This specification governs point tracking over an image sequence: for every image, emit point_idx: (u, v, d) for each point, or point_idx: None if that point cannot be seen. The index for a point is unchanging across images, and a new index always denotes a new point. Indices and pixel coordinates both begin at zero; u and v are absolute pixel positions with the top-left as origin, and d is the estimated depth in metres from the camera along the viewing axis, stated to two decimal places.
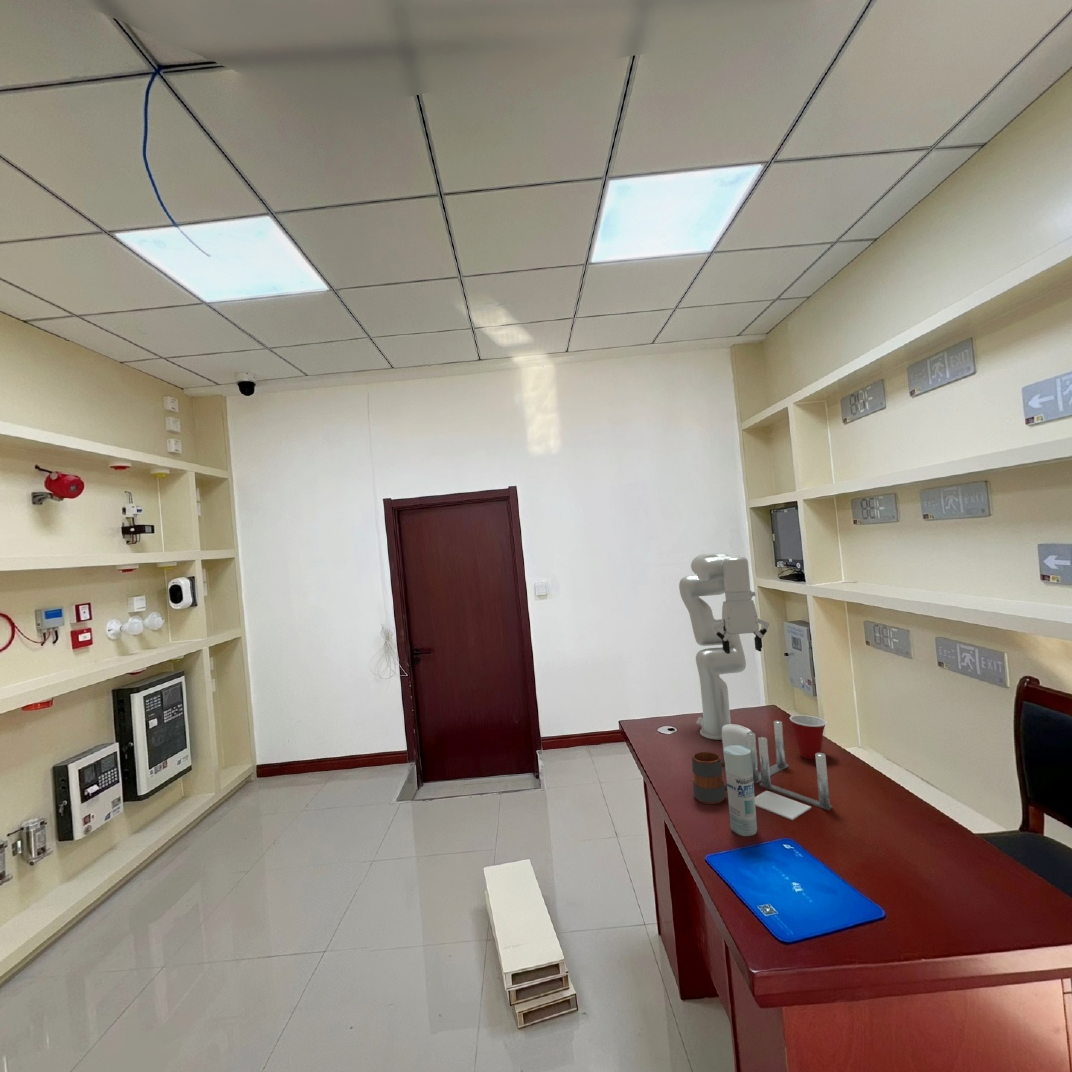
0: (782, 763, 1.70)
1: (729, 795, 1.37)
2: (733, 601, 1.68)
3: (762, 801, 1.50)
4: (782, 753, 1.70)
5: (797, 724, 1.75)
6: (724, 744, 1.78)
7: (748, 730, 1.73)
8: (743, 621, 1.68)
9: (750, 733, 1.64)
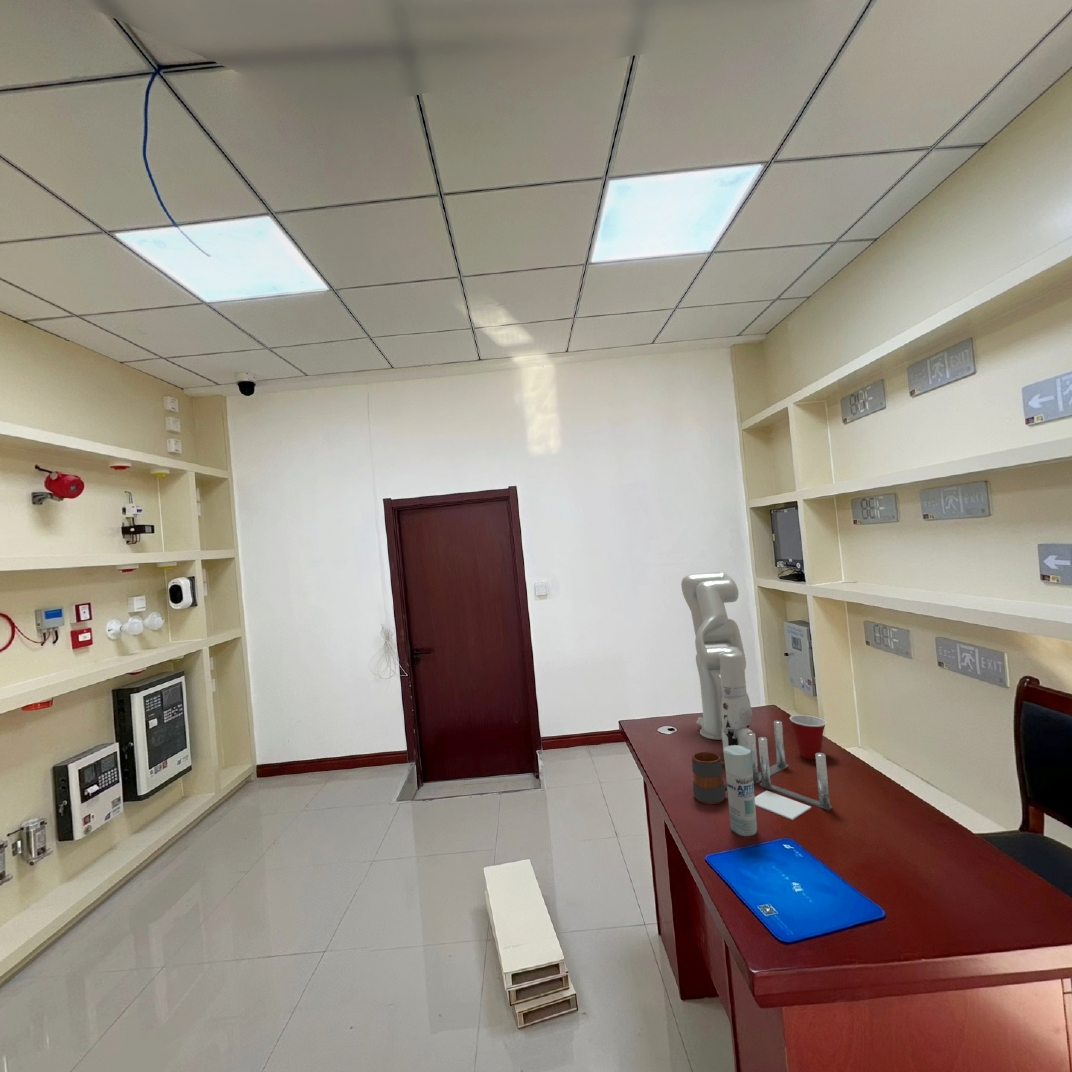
0: (782, 763, 1.70)
1: (729, 795, 1.37)
2: None
3: (762, 801, 1.50)
4: (782, 753, 1.70)
5: (797, 724, 1.75)
6: (724, 744, 1.78)
7: (748, 730, 1.73)
8: None
9: (750, 733, 1.64)
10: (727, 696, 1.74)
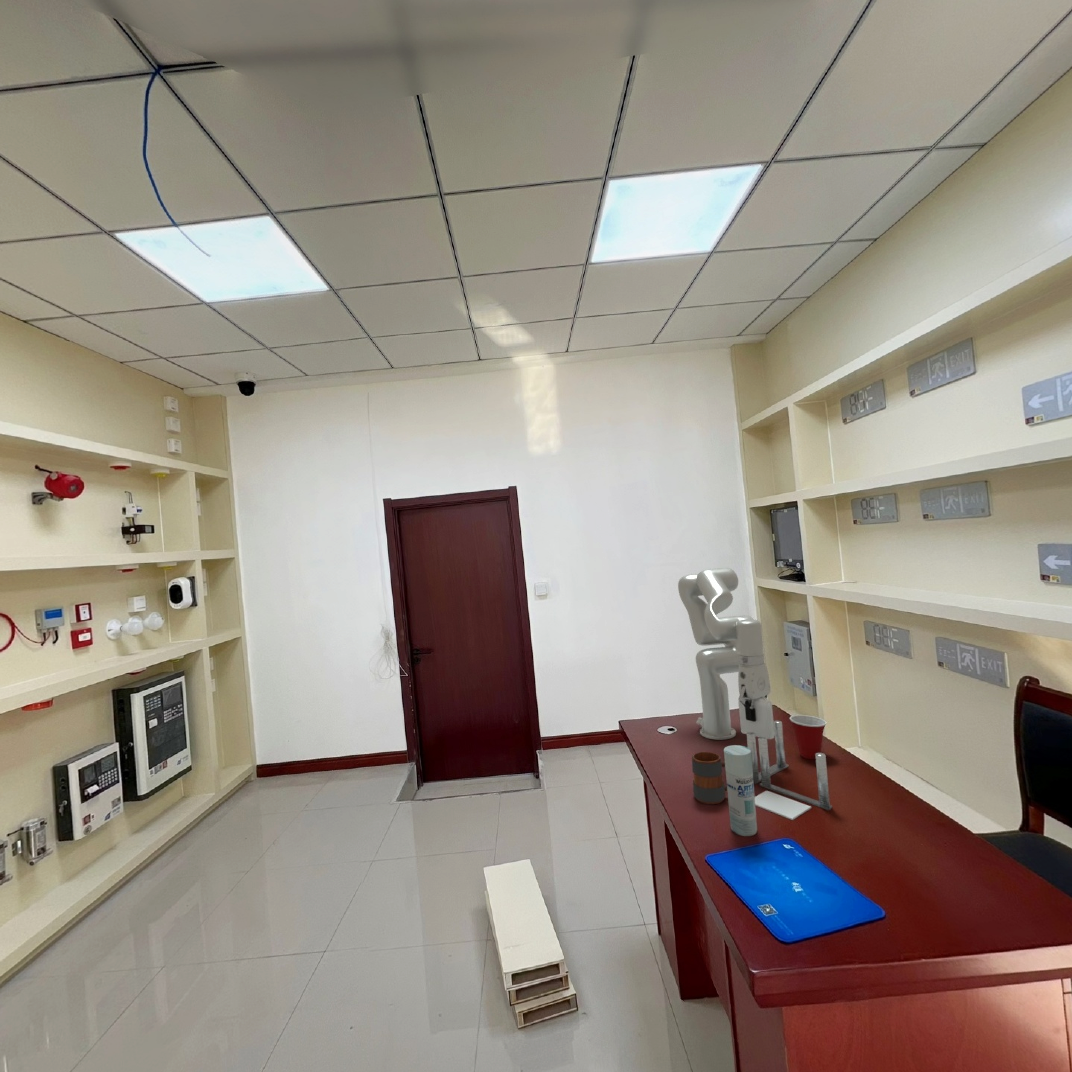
0: (782, 763, 1.70)
1: (729, 795, 1.37)
2: None
3: (762, 801, 1.50)
4: (782, 753, 1.70)
5: (797, 724, 1.75)
6: (741, 715, 1.72)
7: (766, 700, 1.67)
8: None
9: (750, 733, 1.64)
10: (744, 665, 1.68)
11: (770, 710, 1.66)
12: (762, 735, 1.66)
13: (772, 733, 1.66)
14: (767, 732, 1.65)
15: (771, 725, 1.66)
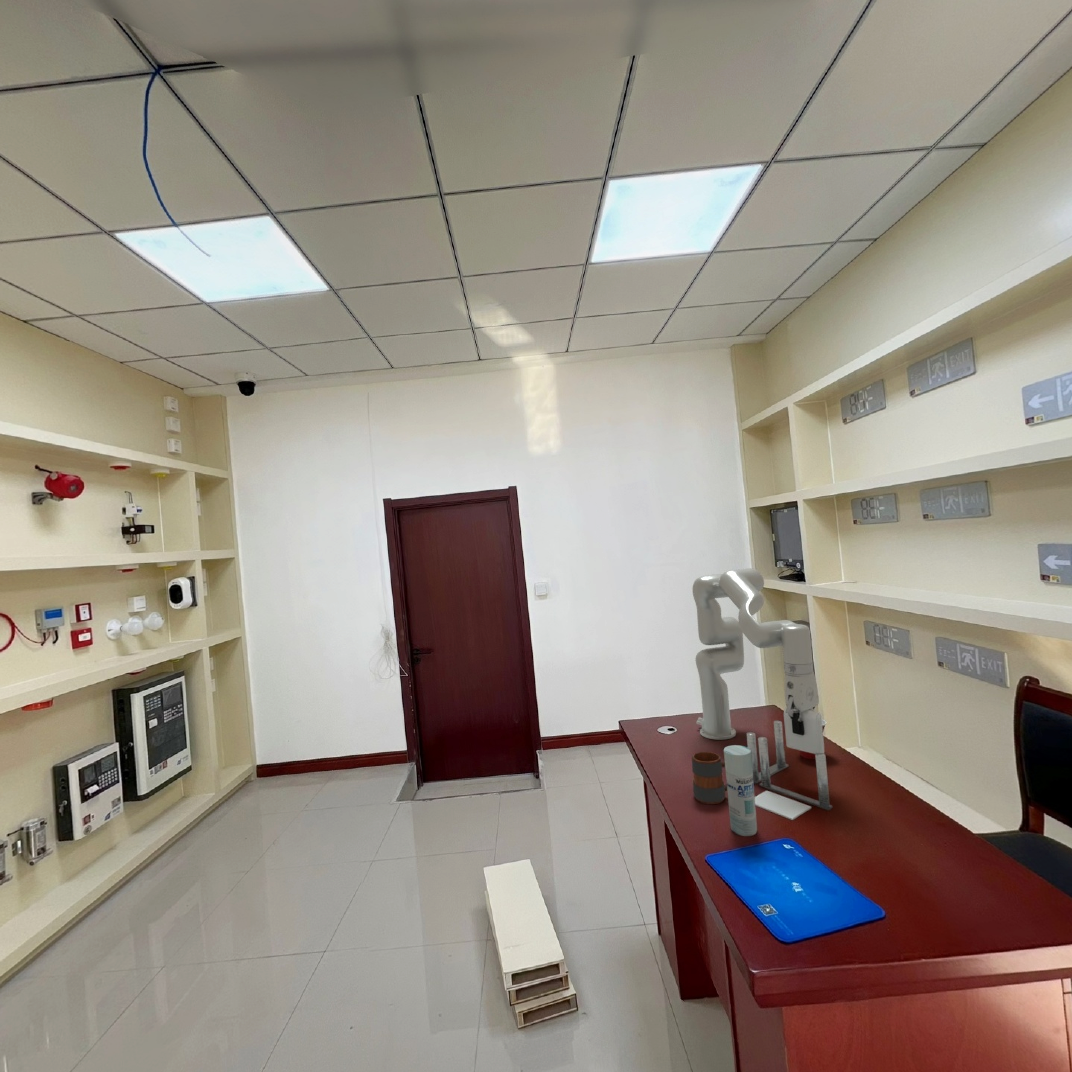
0: (782, 763, 1.70)
1: (729, 795, 1.37)
2: None
3: (762, 801, 1.50)
4: (782, 753, 1.70)
5: None
6: (787, 728, 1.59)
7: (816, 712, 1.54)
8: None
9: (750, 733, 1.64)
10: (792, 674, 1.55)
11: (820, 723, 1.53)
12: (811, 750, 1.53)
13: (822, 748, 1.53)
14: (817, 747, 1.52)
15: (821, 739, 1.53)
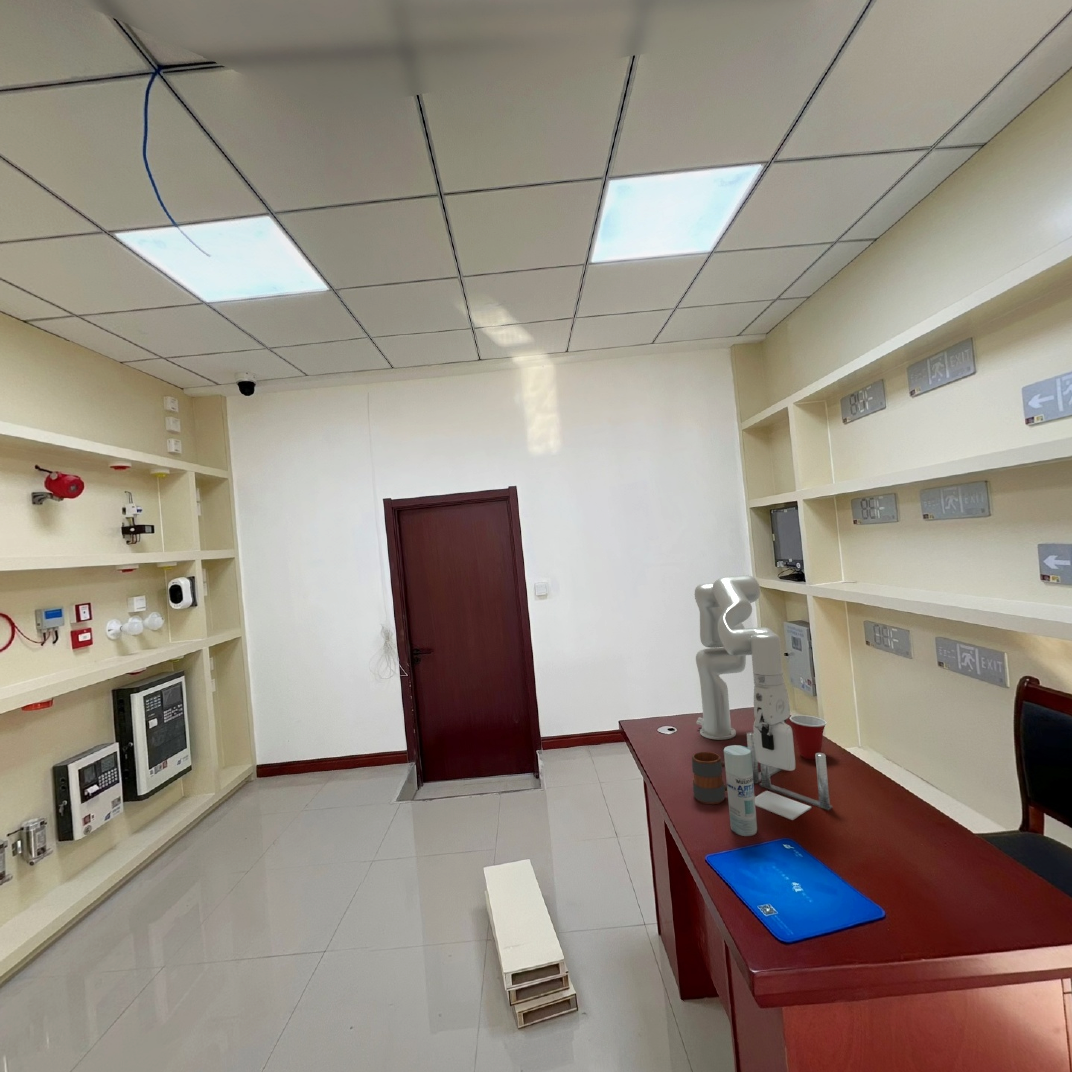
0: None
1: (729, 795, 1.37)
2: None
3: (762, 801, 1.50)
4: None
5: (797, 724, 1.75)
6: (756, 742, 1.50)
7: (786, 725, 1.45)
8: None
9: (750, 733, 1.64)
10: (761, 685, 1.46)
11: (790, 737, 1.44)
12: (781, 766, 1.45)
13: (793, 763, 1.44)
14: (787, 762, 1.44)
15: (792, 754, 1.44)
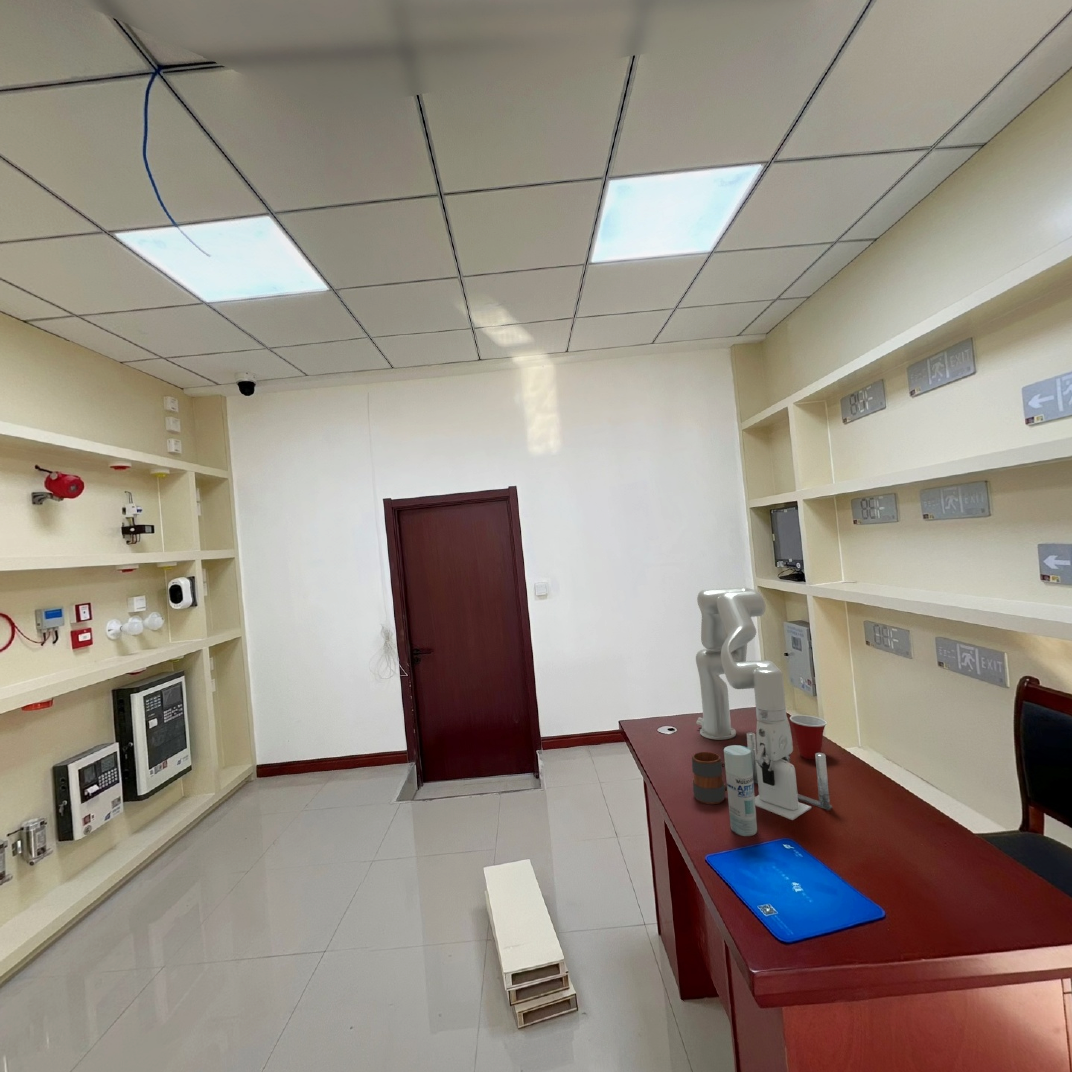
0: None
1: (729, 795, 1.37)
2: None
3: (762, 801, 1.50)
4: None
5: (797, 724, 1.75)
6: (759, 779, 1.50)
7: (789, 764, 1.45)
8: None
9: (750, 733, 1.64)
10: (764, 720, 1.46)
11: (793, 776, 1.44)
12: (784, 805, 1.45)
13: (795, 803, 1.44)
14: (790, 802, 1.44)
15: (794, 794, 1.44)
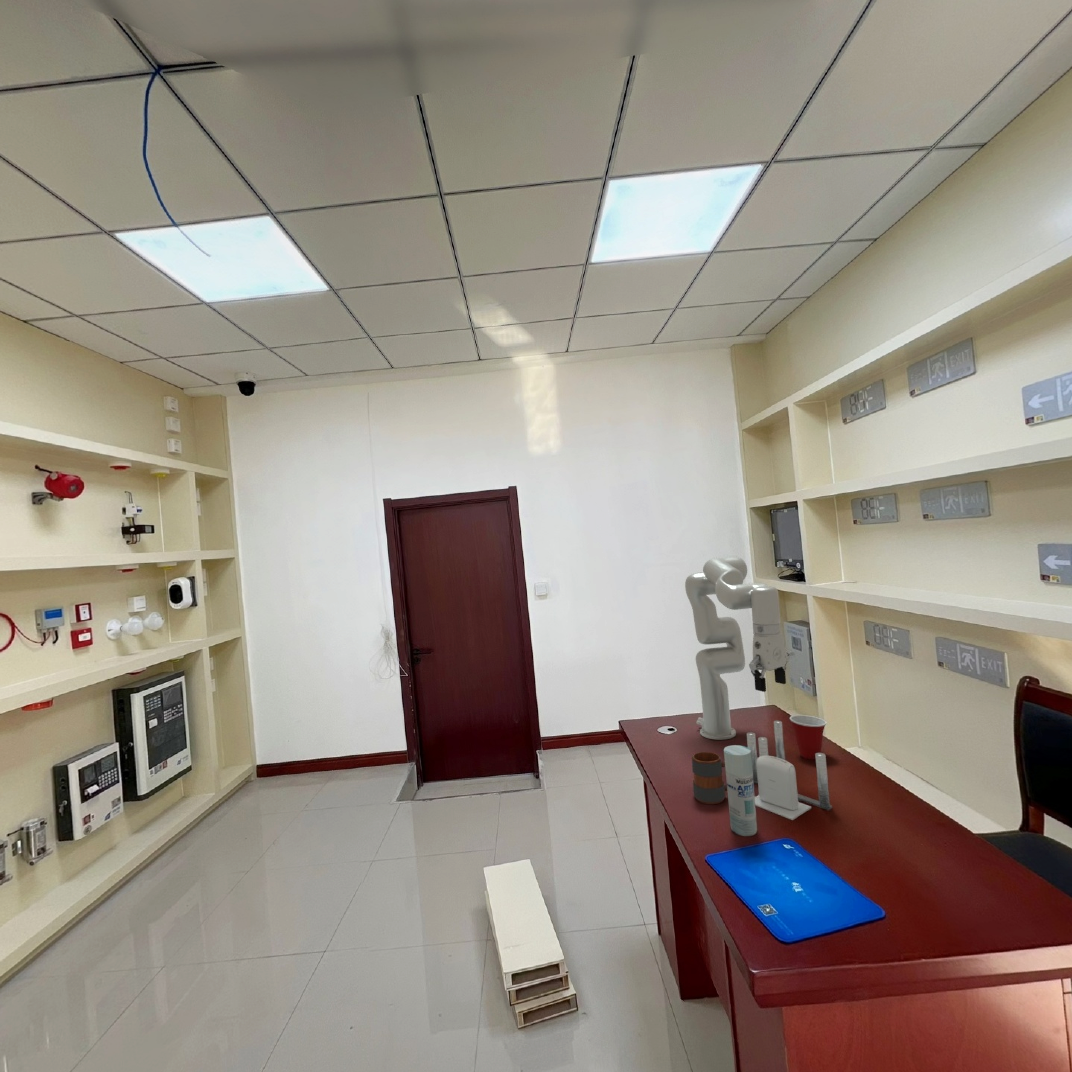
0: None
1: (729, 795, 1.37)
2: None
3: (762, 801, 1.50)
4: (782, 753, 1.70)
5: (797, 724, 1.75)
6: (759, 779, 1.50)
7: (789, 764, 1.45)
8: None
9: (750, 733, 1.64)
10: (759, 634, 1.58)
11: (793, 776, 1.44)
12: (784, 805, 1.45)
13: (795, 803, 1.44)
14: (790, 802, 1.44)
15: (794, 794, 1.44)
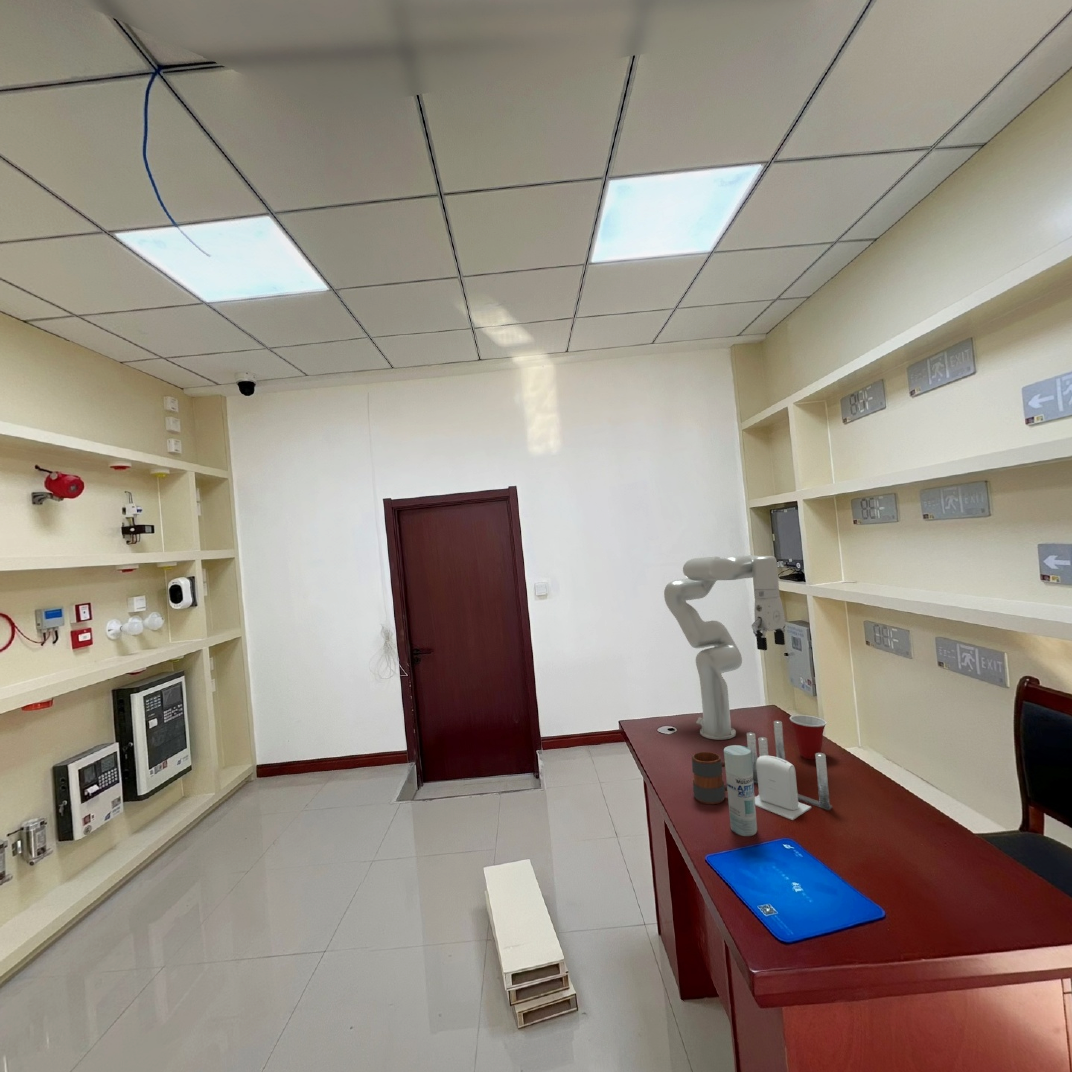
0: None
1: (729, 795, 1.37)
2: None
3: (762, 801, 1.50)
4: (782, 753, 1.70)
5: (797, 724, 1.75)
6: (759, 779, 1.50)
7: (789, 764, 1.45)
8: None
9: (750, 733, 1.64)
10: (760, 598, 1.75)
11: (793, 776, 1.44)
12: (784, 805, 1.45)
13: (795, 803, 1.44)
14: (790, 802, 1.44)
15: (794, 794, 1.44)
